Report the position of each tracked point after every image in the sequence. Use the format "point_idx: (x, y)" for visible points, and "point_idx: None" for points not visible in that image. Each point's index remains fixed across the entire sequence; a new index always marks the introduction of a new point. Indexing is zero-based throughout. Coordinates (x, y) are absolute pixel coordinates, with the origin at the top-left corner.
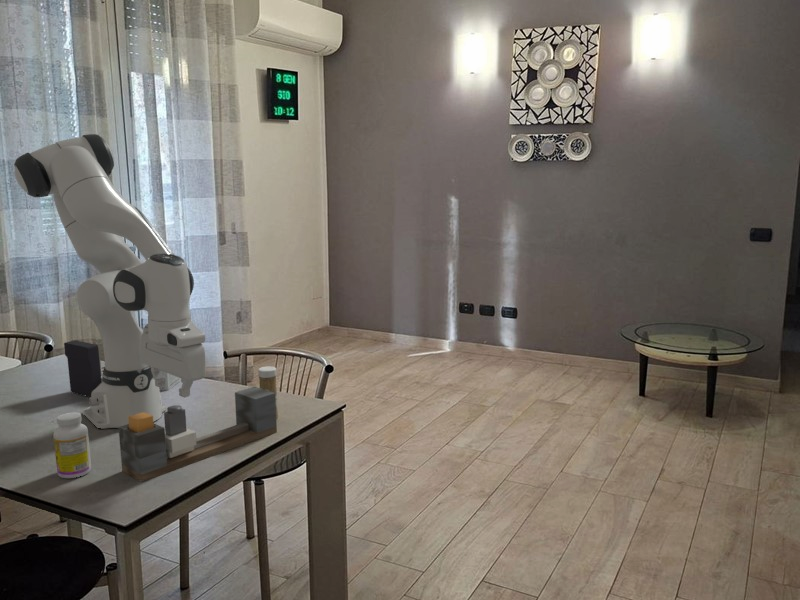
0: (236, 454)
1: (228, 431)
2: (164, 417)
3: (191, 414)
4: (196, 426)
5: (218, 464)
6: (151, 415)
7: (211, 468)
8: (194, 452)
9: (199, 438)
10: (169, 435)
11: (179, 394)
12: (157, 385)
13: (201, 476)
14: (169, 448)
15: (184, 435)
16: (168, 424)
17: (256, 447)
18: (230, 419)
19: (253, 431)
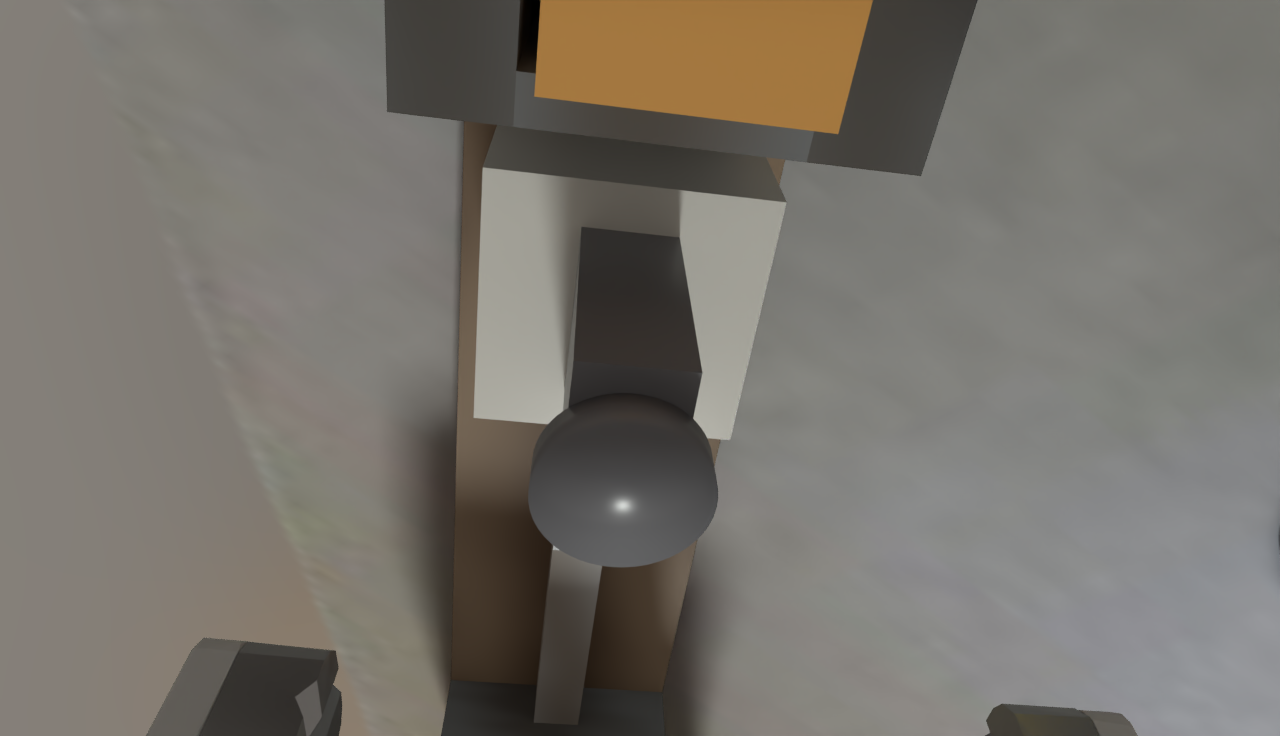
0: (353, 466)
1: (546, 608)
2: (693, 335)
3: (1112, 681)
4: (949, 598)
5: (294, 307)
6: (574, 96)
7: (266, 236)
8: None
9: None
10: (600, 230)
11: (306, 665)
12: (1053, 724)
13: (180, 94)
14: (546, 137)
15: (480, 313)
16: (606, 290)
17: (353, 581)
18: (831, 730)
19: (487, 684)
